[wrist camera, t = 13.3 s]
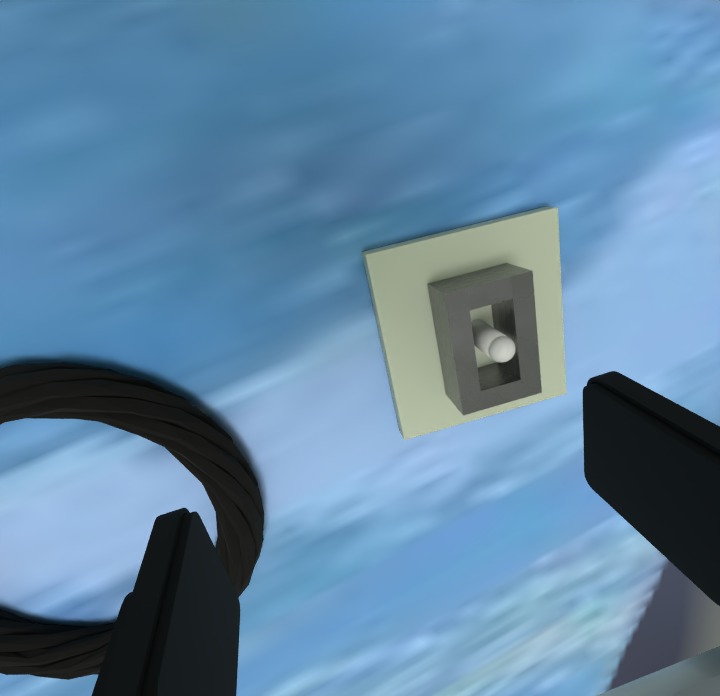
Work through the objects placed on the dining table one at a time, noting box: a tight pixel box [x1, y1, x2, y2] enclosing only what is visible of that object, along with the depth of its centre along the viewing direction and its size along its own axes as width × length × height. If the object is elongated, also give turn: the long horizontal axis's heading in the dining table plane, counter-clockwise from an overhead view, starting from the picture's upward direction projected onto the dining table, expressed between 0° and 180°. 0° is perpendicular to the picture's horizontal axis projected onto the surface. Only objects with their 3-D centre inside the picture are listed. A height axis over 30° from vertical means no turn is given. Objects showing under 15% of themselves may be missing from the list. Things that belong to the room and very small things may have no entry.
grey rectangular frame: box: [427, 263, 542, 416], centre depth 31 cm, size 9×6×4 cm, turn 13°
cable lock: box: [0, 363, 264, 679], centre depth 33 cm, size 28×4×30 cm
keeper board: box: [362, 207, 566, 440], centre depth 31 cm, size 15×14×6 cm
